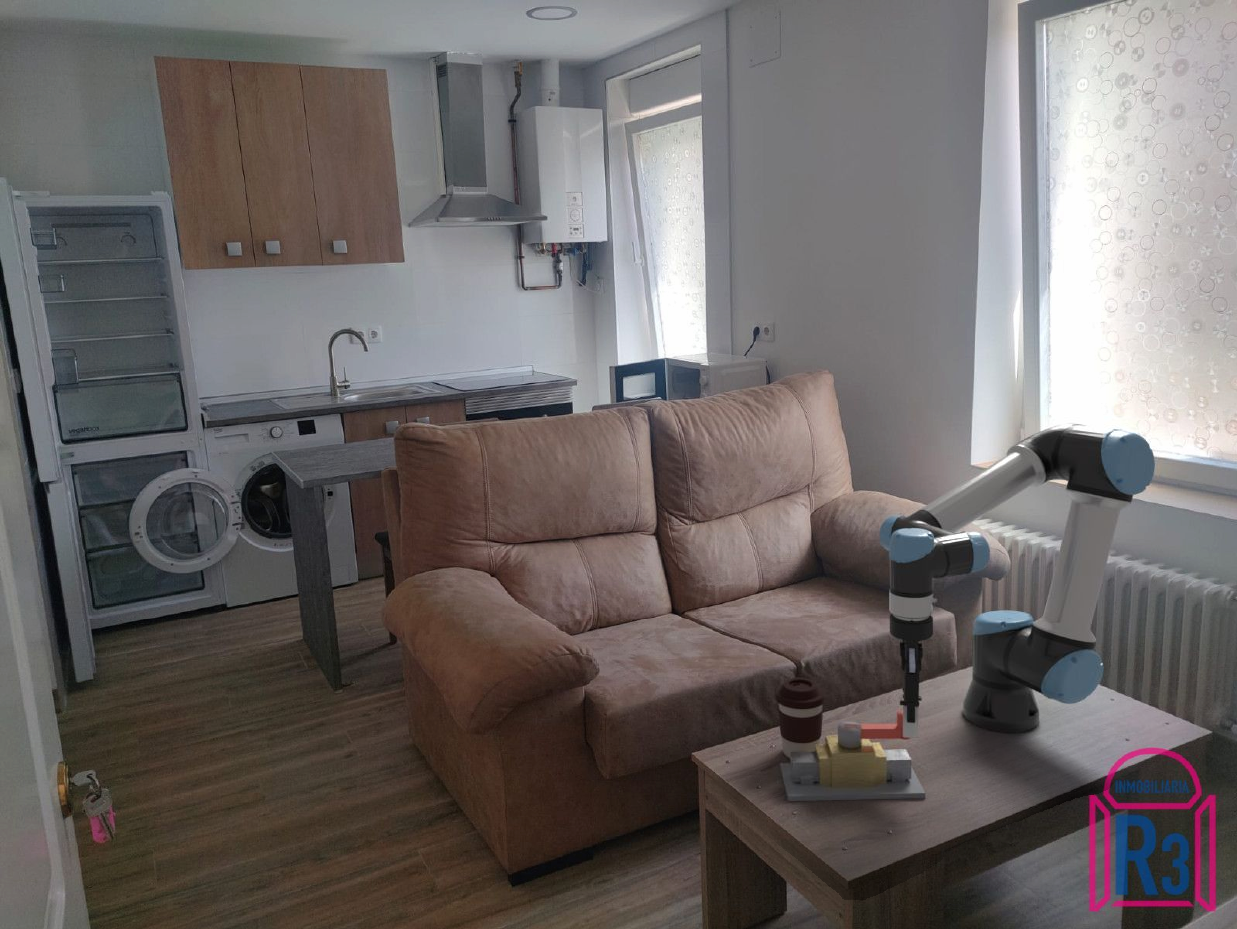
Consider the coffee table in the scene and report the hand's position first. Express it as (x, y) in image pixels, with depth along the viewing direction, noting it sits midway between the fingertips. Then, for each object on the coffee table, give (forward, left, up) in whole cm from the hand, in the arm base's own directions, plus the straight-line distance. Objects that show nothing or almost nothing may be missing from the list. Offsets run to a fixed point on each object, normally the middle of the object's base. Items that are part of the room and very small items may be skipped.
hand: (910, 735), depth 171 cm
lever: (+6, -2, -2) cm, 7 cm away
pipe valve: (+11, -3, -11) cm, 15 cm away
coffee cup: (+18, -14, -11) cm, 26 cm away
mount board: (+11, -3, -11) cm, 15 cm away
